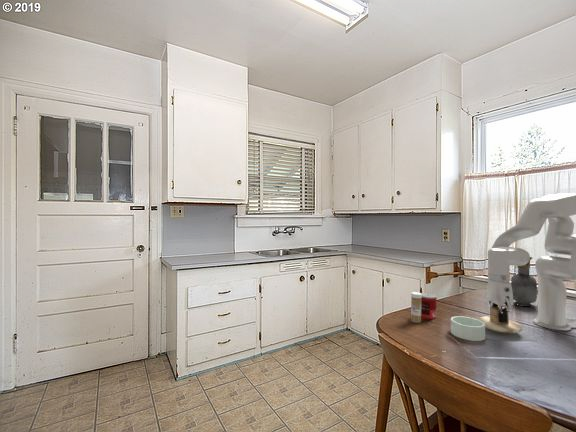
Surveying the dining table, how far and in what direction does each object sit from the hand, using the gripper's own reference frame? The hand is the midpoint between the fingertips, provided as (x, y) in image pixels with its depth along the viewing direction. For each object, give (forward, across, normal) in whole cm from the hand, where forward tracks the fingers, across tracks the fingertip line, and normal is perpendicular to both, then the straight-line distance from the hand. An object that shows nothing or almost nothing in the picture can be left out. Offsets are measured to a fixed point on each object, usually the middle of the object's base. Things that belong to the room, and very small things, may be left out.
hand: (499, 319), depth 122 cm
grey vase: (+7, +40, -40) cm, 57 cm away
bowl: (+5, -4, +16) cm, 17 cm away
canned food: (+5, +17, +23) cm, 29 cm away
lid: (+2, 0, 0) cm, 2 cm away
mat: (+5, 0, +1) cm, 5 cm away
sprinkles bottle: (+5, +11, +31) cm, 33 cm away
